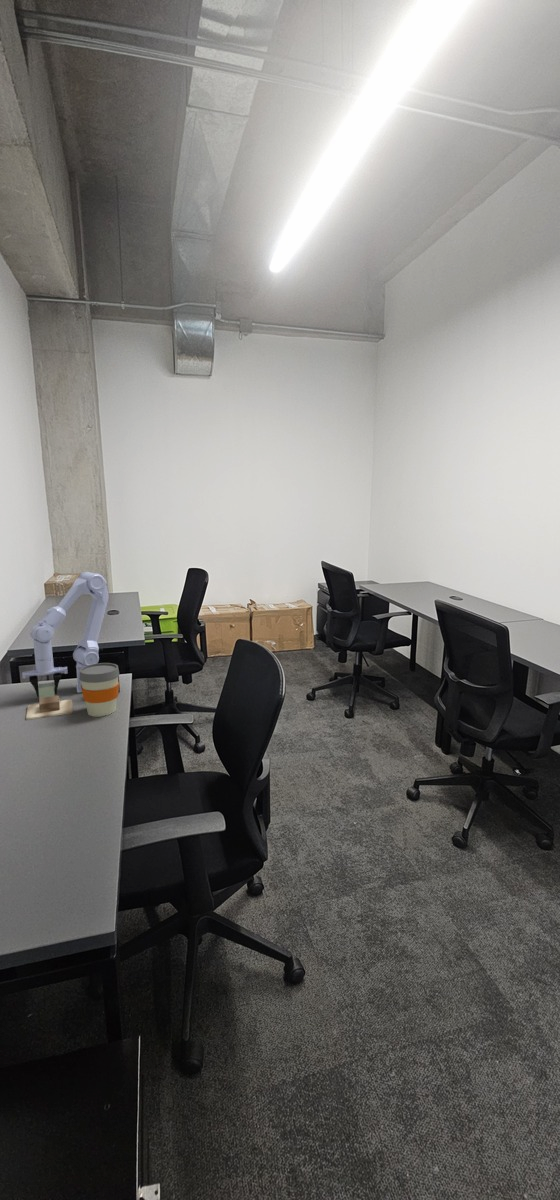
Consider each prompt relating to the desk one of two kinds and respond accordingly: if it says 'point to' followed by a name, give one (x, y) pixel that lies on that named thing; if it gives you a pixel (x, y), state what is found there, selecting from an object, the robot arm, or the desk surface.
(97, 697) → the reusable coffee cup
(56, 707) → the baseplate
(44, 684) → the sage cube
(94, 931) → the desk surface
